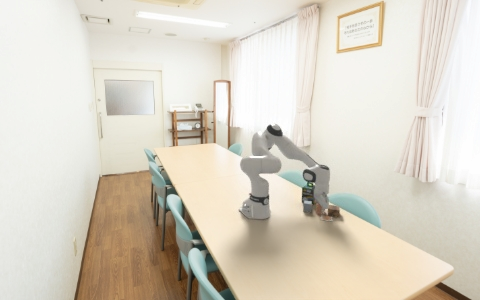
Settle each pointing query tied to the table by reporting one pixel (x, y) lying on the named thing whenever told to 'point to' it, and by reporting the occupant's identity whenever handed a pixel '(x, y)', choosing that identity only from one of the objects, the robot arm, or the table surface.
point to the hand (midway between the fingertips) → (320, 209)
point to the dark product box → (308, 193)
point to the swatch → (326, 218)
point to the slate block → (307, 206)
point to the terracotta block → (319, 209)
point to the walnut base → (333, 211)
